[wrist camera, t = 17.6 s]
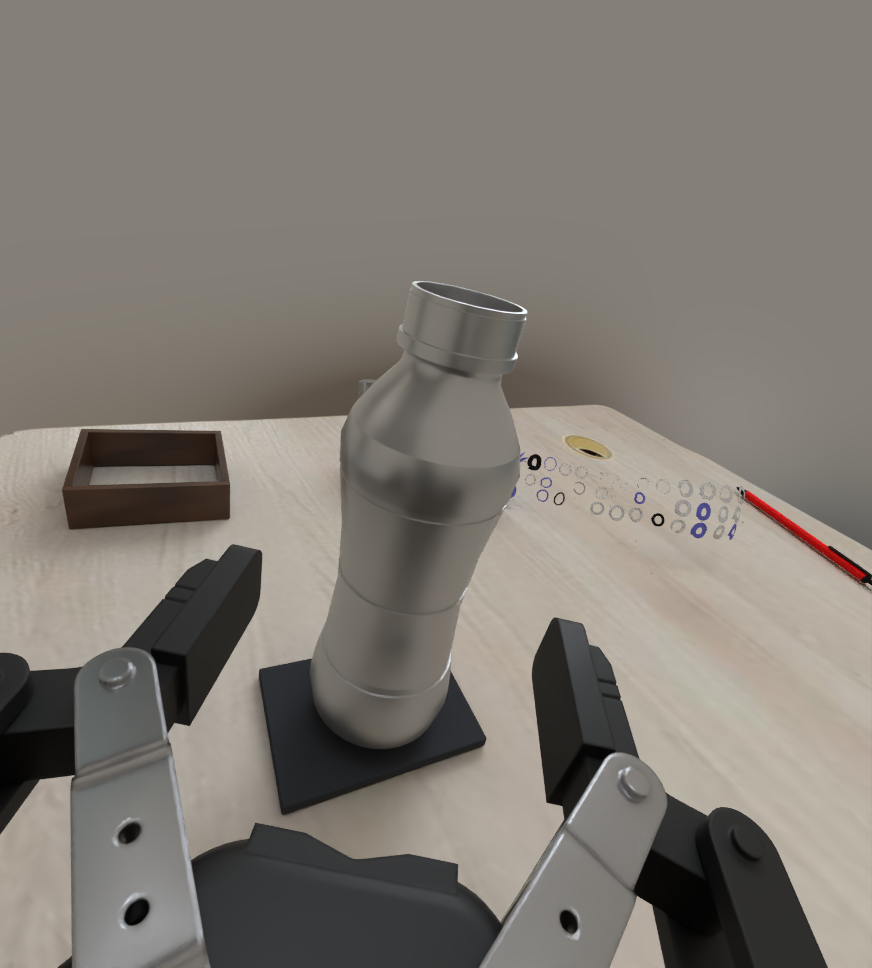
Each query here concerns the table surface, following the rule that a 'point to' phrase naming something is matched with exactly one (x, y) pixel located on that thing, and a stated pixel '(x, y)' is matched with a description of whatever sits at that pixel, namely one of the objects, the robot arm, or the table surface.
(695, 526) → the ring set
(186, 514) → the bottle stand
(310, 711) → the mat
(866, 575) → the pen
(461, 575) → the silver metal bottle
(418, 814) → the table surface
